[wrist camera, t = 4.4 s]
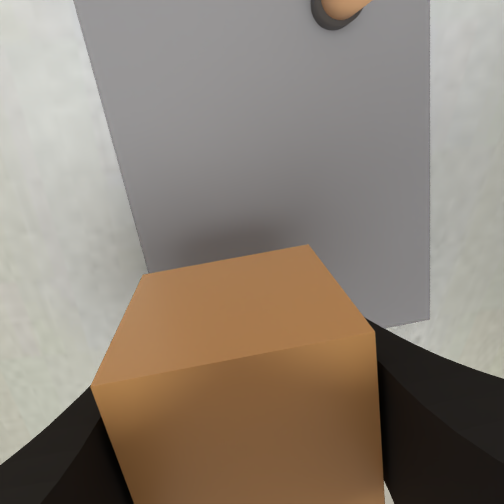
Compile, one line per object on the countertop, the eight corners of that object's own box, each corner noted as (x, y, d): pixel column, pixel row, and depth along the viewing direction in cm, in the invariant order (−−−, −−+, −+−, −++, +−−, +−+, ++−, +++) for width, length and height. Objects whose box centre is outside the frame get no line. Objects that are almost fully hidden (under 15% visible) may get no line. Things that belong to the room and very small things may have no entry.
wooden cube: (308, 244, 11) (375, 331, 7) (324, 379, 13) (386, 526, 8) (142, 274, 11) (90, 386, 6) (180, 408, 13) (160, 574, 8)
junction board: (409, -162, 15) (487, -275, 11) (415, 306, 22) (464, 351, 18) (53, -110, 14) (-14, -207, 10) (177, 352, 21) (168, 409, 17)
